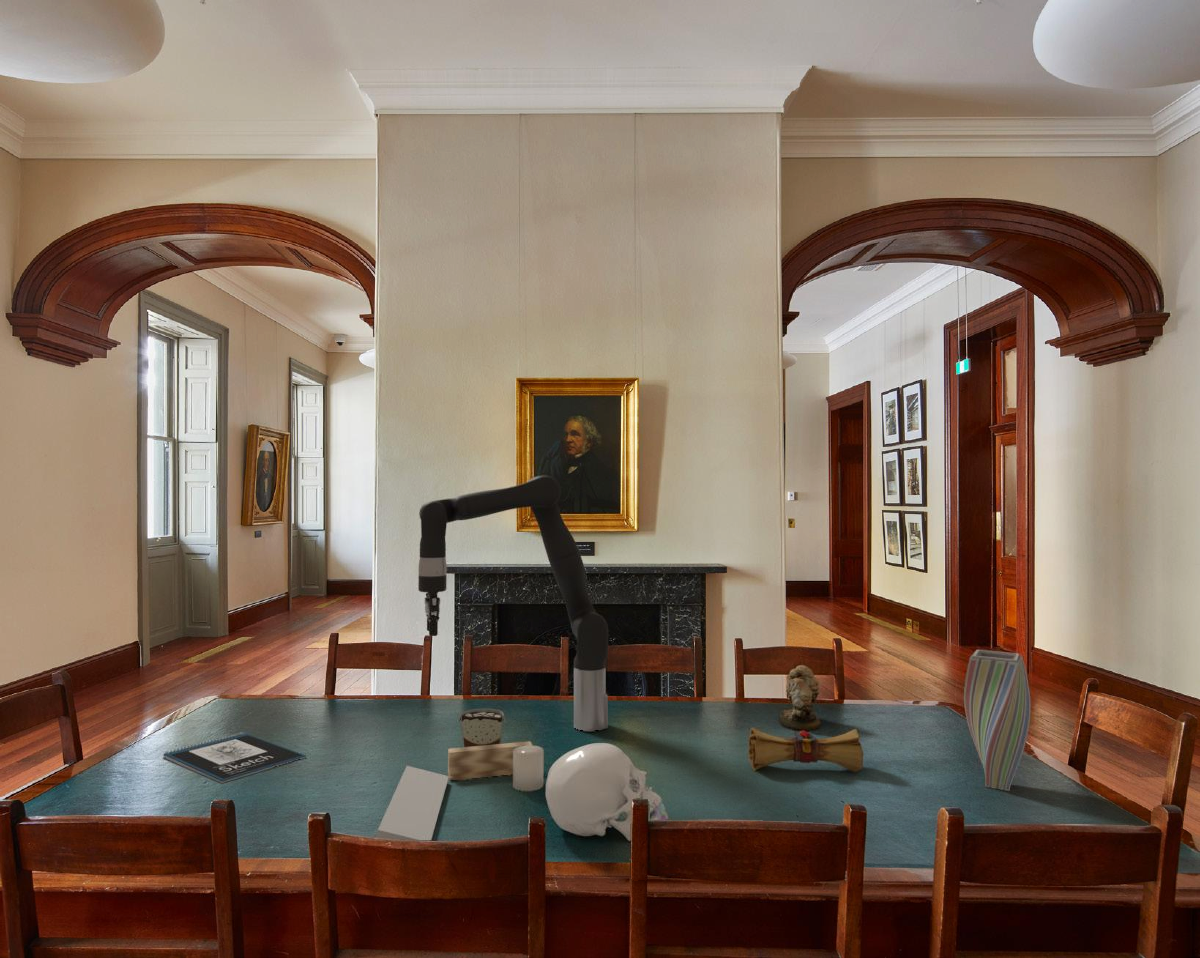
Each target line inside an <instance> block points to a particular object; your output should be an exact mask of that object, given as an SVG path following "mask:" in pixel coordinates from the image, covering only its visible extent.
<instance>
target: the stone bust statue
mask: <svg viewBox="0 0 1200 958" xmlns="http://www.w3.org/2000/svg"><path fill="white" fill-rule="evenodd" d="M788 676H789V677H788V678H789V679H788V681H787V683H786V687H785V692H786V697H787V700H788V701H791V702H792V705H793V706H792V709H791V708H790V709H785V710H782V711H781V714H779V716H778V722H779V724H780V725H781V726H782V727H783V728H786V729H788V730H792V731H794V732H801V731H803V730H804V731H806V732H815V731H817V730H818V729H820V727H821V721H820V719H819V718H818V717H817V715H816V712H815V711H814V709H813V705H812V704H813V703H815V702H816V700H817V698H818V695H820V691H819V685H820V684H819V681H818V680H817V678H815V674H814V672H813V670H812V669H811V668H809V667H808V666H806V665H804V664H801V665H797V666H796V667H795V668H793V669H790V671H789V675H788Z"/></svg>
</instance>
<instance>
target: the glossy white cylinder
mask: <svg viewBox="0 0 1200 958" xmlns="http://www.w3.org/2000/svg"><path fill="white" fill-rule="evenodd" d="M544 752H545V751H544V748H543V747H541V746H538V745H533V746H520V747H517V748H515V749H514V750H513V775H512V788H513V789H514V788H515V790H516V791H519V790H521V791H520V792H535V791H538V790H540V789H542V788H543V787H544V758H545V757H544ZM534 790H535V791H534Z"/></svg>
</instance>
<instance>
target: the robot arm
mask: <svg viewBox="0 0 1200 958" xmlns="http://www.w3.org/2000/svg"><path fill="white" fill-rule="evenodd" d="M560 485H561V484H559V482H558V481H557V479H555V478H554V477H552V476H550V475H547V474H546V475H545V474H543V475H542V474H541V475H537V476H534V477H531V478H530V479H529V480H528V481H527V482H524V483H521V484H518V485H513V486H510V487H509V486H508V487H504V488H497V489H490V490H482V491H476V492H471V493H466V494H462V495H457V496H455V497H451V498H450V497H449V498H443V499H437V500H430V501H427V502H425V503H424V504H423V505H421V507H420V510H419V519H420V531H421V532H420V533H421V534H420V540H419V541H420V542H419V561H418V583H417V585H418V591H419V592H420V593H425V596H426V597H424V610H425V611H424V612H425V616H426V630H427V631H428V635H429V636H430V637H436V636H437V637H438V634H439V630H438V629H439V627H438V626H439V625H438V623H439V621H440V612H441V609H440V608H441V607H440V605H441V597H440V596H439V597H438V594H439V593H441V592H442V593H443V592H446V591H447V574H448V573H447V558H446V557H447V556H446V554H447V553H446V552H447V548H446V547H447V546H446V545H447V544H446V534H447V525H448V524H449V523H452V522H455V521H466V520H467V521H468V520H472V519H477V518H481V517H487V516H490V515H494V514H497V513H501V512H506V511H511V510H516V509H521V508H523V509H524V508H530V509H531V512H532V513H533V515H534V518H535V520H536V522H537V523H536V524H538V527H539V531H540V535H541V539H542V543H543V547H544V550H545V553H546V557H547V560H548V562H549V565H550V568H551V571H552V573H553V576H554V579H555V582H556V583H557V586H558V589H559V590H560V593H561V595H562V597H563V599H564V604H565V606H566V610H567V614H568V618H569V619H568V620H569V622H570V624H569V625H570V628H571V631H572V634H573V635H574V637H575V638H576V655H575V657H574V658H573V728H574V729H575V728H576V730H577V729H578V730H577V731H580V730H583V731H582V732H596V731H595V730H599V731H602V730H605V729H608V728H609V727H608V723H609V722H608V721H609V720H608V718H609V716H608V715H609V713H608V712H609V711H608V710H609V709H608V707H609V706H608V697H609V696H608V694H607V692H606V678H607V676H606V674H607V673H606V667H607V666H606V662H607V659H608V652H609V625H608V622H607V620H606V619H605V618H604V616H602V615H600V614H599V613H597V611H596V609H595V608H594V606H593V603H592V600H591V598H590V595H589V593H588V589H587V581H586V580H587V579H586V570H585V565H584V563H583V562H584V561H583V559H582V555H581V552H580V550H579V547H578V544H577V542H576V540H575V538H574V536H573V535H572V534H571V531H570V530H569V528H568V527H567V524H566V523H565V522H564V520H563V517H562V515H561V512H560V508H559V505H558V501H559V499H560V497H561V494H562V489H561V486H560Z"/></svg>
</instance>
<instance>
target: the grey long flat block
mask: <svg viewBox="0 0 1200 958" xmlns="http://www.w3.org/2000/svg"><path fill="white" fill-rule="evenodd" d="M405 766H406V767H405V768H404V771H403V773H402V776H401V777H400V780H399V782H398V784H397V787H396V789H395V791H394V793H393V796H392V798H391V800H390V803H389V804H388V807H387V809H386V810H385V813H384V814H383V815H384V816H383V818H382V820H381V822H380V824H379V826H378V829H377V831H376V834H375V838H376V837H380V838H392V839H404V840H431V841H432V839H433V834H434V832H435V831H434V830H435V828H436V823H437V820H438V818H439V817H438V816H439V813H440V810H441V806H442V802H443V800H444V795H445V791H446V788H447V784H448V781H449V776H448V775H447V774H446V775H444V774H441V773H437V772H433V771H429V770H426V769H422V768H417V767H414V766H410V765H405Z"/></svg>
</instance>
